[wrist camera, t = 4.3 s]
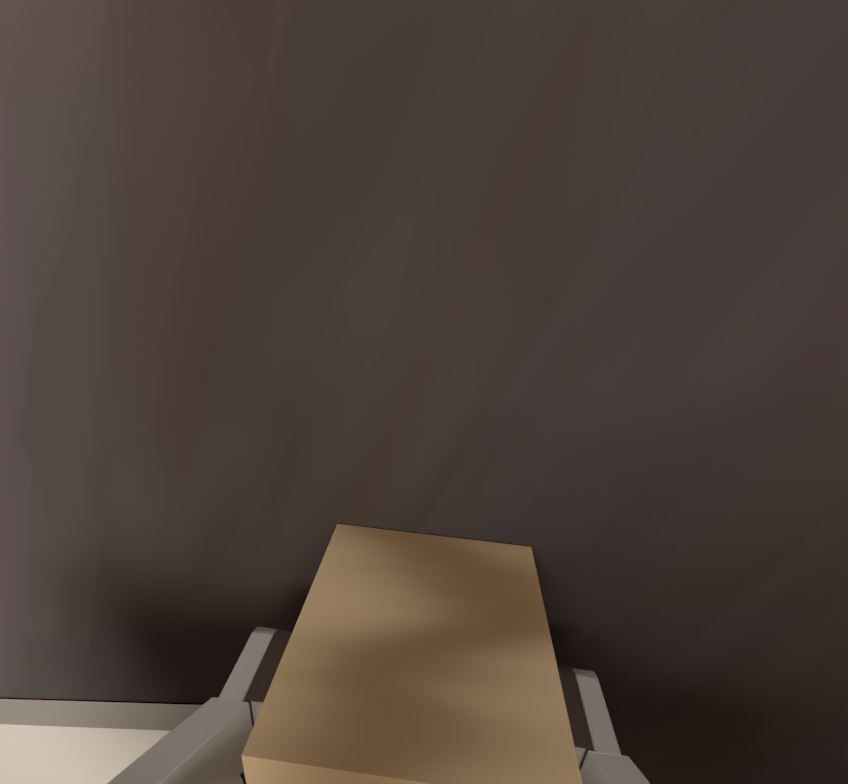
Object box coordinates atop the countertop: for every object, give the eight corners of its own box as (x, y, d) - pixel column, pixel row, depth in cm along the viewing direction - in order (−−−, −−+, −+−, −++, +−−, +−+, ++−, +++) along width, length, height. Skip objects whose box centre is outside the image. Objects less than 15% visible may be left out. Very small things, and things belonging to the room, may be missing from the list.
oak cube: (531, 546, 10) (587, 806, 6) (502, 675, 12) (526, 947, 8) (337, 523, 11) (241, 755, 6) (338, 653, 12) (267, 904, 8)
